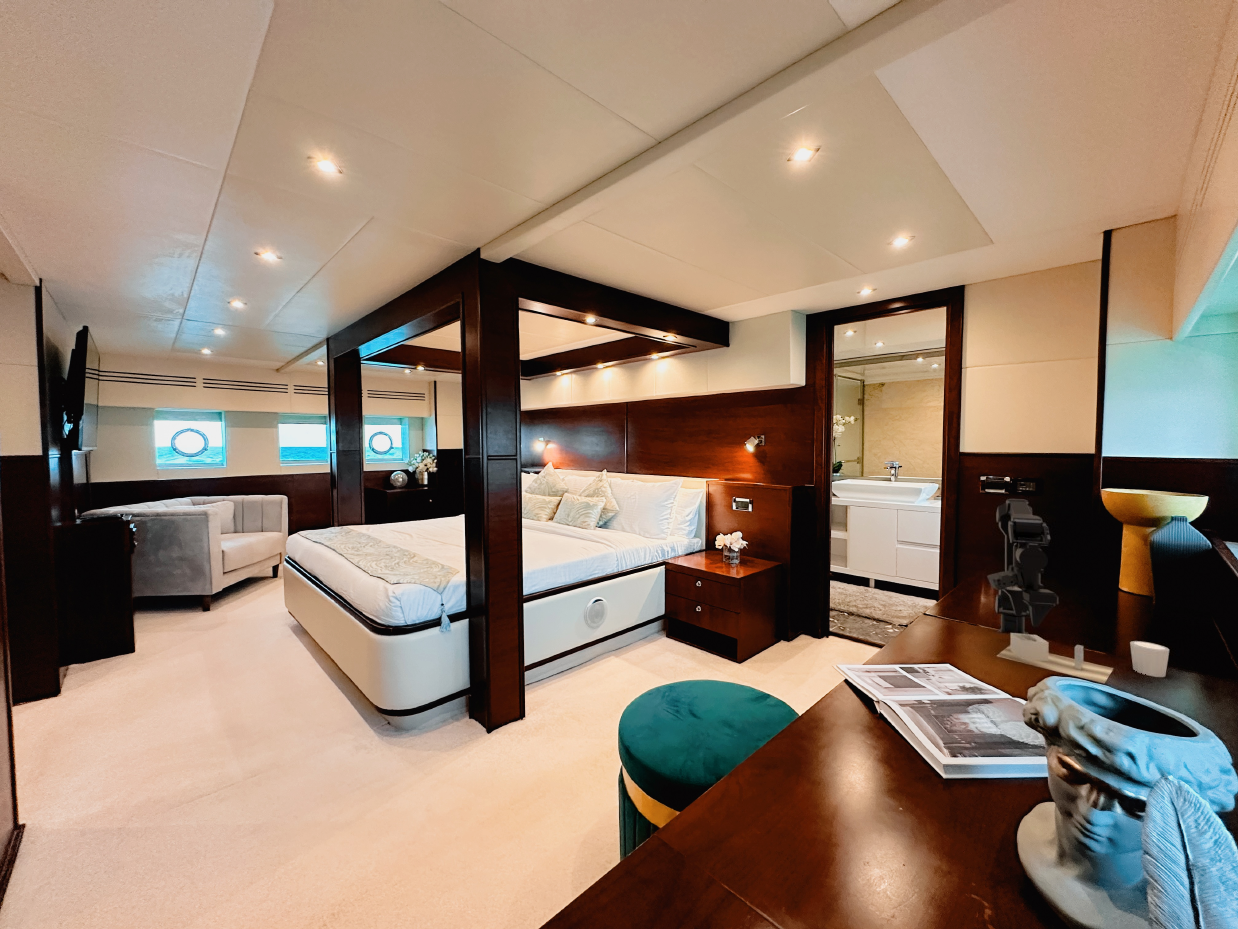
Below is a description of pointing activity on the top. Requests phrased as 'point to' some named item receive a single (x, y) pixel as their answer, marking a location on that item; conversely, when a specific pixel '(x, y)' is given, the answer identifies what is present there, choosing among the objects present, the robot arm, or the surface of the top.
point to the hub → (1029, 647)
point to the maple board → (1064, 666)
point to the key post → (1078, 657)
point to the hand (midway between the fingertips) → (1026, 620)
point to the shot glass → (1149, 658)
